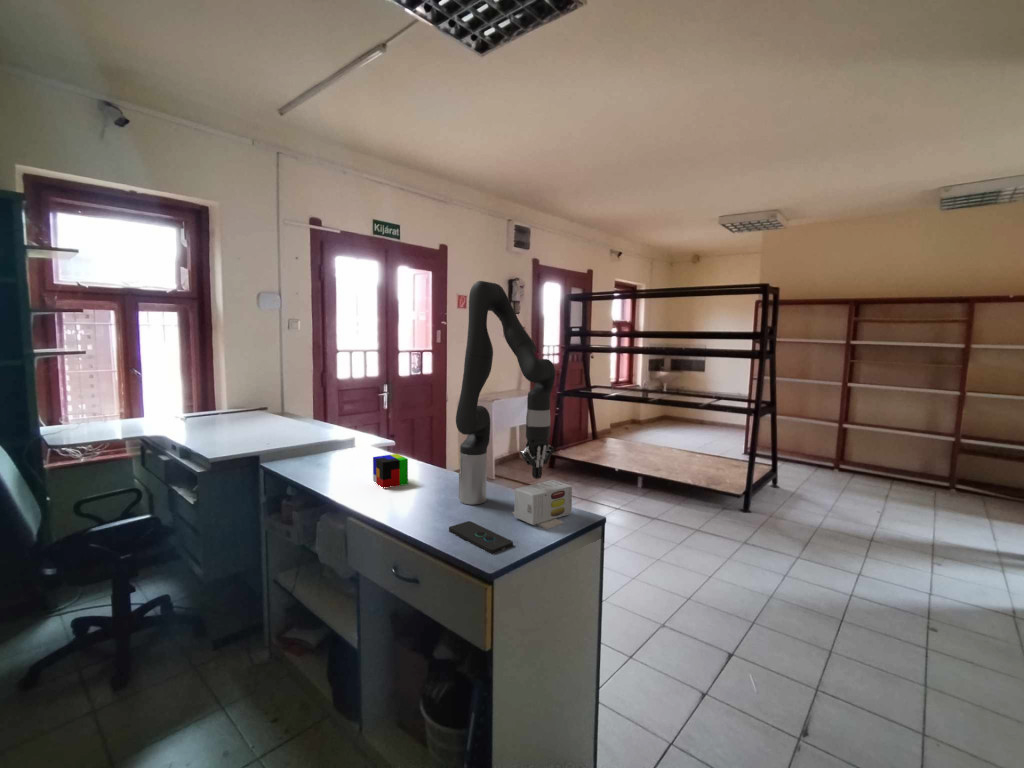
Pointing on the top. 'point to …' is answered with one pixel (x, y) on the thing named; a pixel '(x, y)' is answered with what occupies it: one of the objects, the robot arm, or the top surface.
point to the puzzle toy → (390, 470)
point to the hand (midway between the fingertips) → (536, 478)
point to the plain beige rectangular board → (549, 523)
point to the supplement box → (543, 501)
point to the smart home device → (481, 537)
